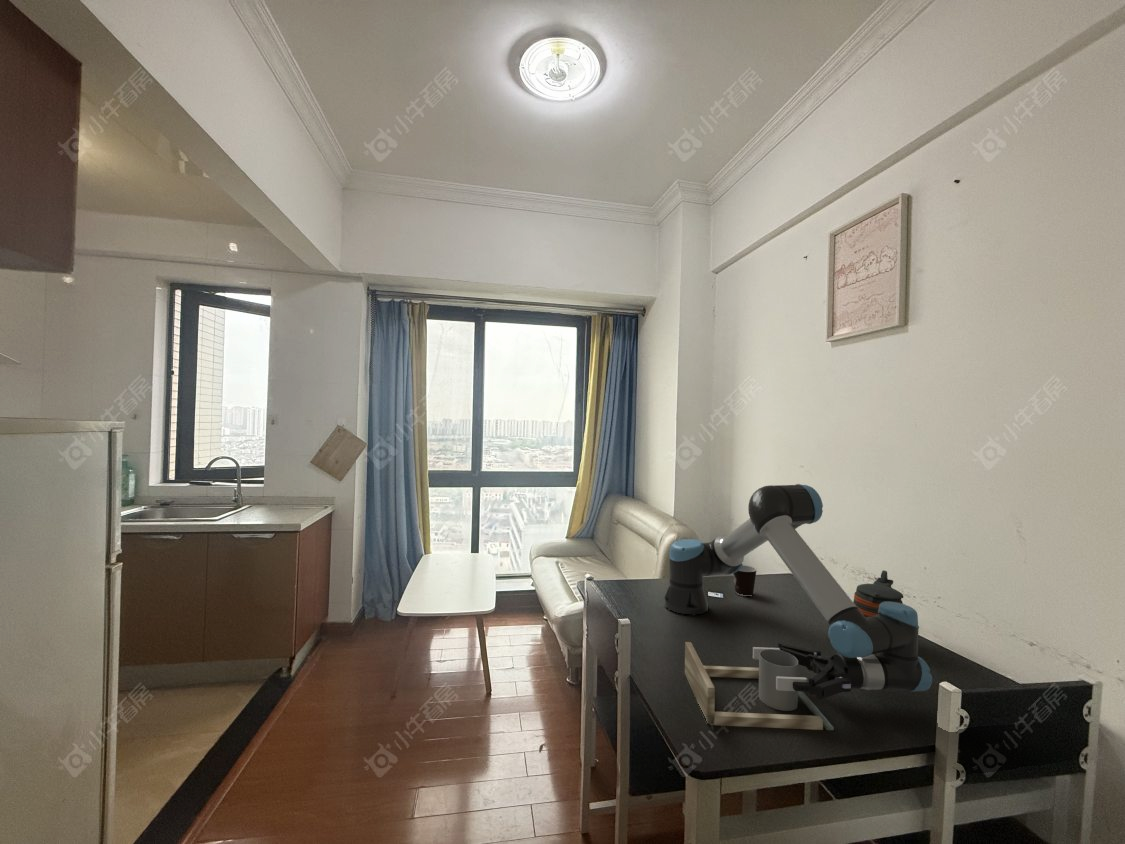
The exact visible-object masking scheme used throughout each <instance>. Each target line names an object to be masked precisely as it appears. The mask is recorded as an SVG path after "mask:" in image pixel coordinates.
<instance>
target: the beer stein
mask: <svg viewBox="0 0 1125 844" xmlns="http://www.w3.org/2000/svg"><path fill="white" fill-rule="evenodd" d="M888 578H889V577H888V571H887V570H882V571H881V573H880V577H877V579H876V580H875V581H874V582H873V583H861V584H858V585H857V586H856V589H855V592H854V593H853V600H852V601H853V603H854V604H855V605H856V606H857V608H858V609H859V610H860V611H861V612H862V614H863V615H864V616H865V617H869V616H874V615H878V610H879V605H880V604H881V603H882V602H897V603H901V604H904V603H903V600H902V599H904V594H903V593H902V592H900V591H899V590H897V589H895V588H893V587H892V585H893V584H894V580H893V579H888Z"/></svg>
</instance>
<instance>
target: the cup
mask: <svg viewBox="0 0 1125 844" xmlns="http://www.w3.org/2000/svg"><path fill="white" fill-rule="evenodd" d="M758 668H759V679H758V697H759V699H760V701H761V702H762V703H763V704H765V705H766V706H768V707H770V708H772V709H775V710H779V711H783V712H788V711H795V710H796V709H797V708H798V706H799V696H798V691H779V690H777V689H776V676H779V677H799V664H798V660H797V659H796V657H795V656H793V655H791V654H789V653H787V652H784V651H781V650H775V649H765V650H762V651H760V654H759V659H758Z"/></svg>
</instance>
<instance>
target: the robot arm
mask: <svg viewBox="0 0 1125 844" xmlns="http://www.w3.org/2000/svg"><path fill="white" fill-rule="evenodd" d="M823 507H824V505H823V500H822V498H821V496H820V494H819V492H817V490H816V489H815V488H814V487H812V486H810V485H807V484H800V483H796V484H787V485H786V484H784V485H783V484H782V485H775V484H773V485H771V484H770V485H764V486H762V487H759V488H758V489H756V490H755V491H754V492H753V493H752V494H751V496H750V498H749V501H748V508H747V509H748V516H749V518H748V519H747V520H746V521H745V522H743V523H742V524H740V525H739V526H738V527H737V528H735V529H733V530H732V531H731V532H730V533H729V534H720V535H718V536H717V537H716V538H714V539H713V540H712V541H710V542H709V541H708V542H703V541H701V540H699V539H695V538H690V539H689V538H684V539H683V538H682V539H678V540H676V541H673V542H672V543H671V545H670V547H669V555H668V557H669V573H668V575H669V578H668V579H669V581H668V583H669V584H668V586H667V590H666V592H665V595H664V599H663V605H665V606H666V607H667V608H668V609H670V610H672V611H674V612H673V613H675V612H677V613H676V614H678V613H682V614H681V615H683V614H701V613H704V612H706V611H707V612H708V610H709V609H708V599H707V597H706V596H707V595H706V594H705V591H704V582H703V581H704V578H705V577H713V576H722V575H723V576H724V575H726V576H727V575H732V574H733V573H735V572H737V571H739V570H740V568H741V567H742V565H744V564H743V562H744V558H745V556H747V555H748V554H749V553H751V552H752V551H754V550H756V549H758V547H760V546H762V545H763V544H765V543H766V542H769V544H770V545H771V546H772V548H773V550H775V552H776V553H777V554H778V556H779V558H780V559H781V560H782V562H783V563H784V564H785V566H786V567H787V568H788V570H789V571H790V573H791V574H792V576H793V577H794V578H795V579H796V580H797V582H798V584H799V585H800V586H801V587H802V589H803V591H804V592H805V593H806V594H807V596H808V597H809V599H810V600H811V601H812V602H813V604H814V605H815V607H816V608H817V609H818V611H819V612H820V613H821V615H822V616H823V618H824V619H825V620H826V622H827V623H828V625H829V628H828V634H827V636H828V638H829V640H830V645H831V647H832V648H833V649H834V650H835V651H836V652H834V653H833V654H832V656H831V657H830V658H827V657H824V656H822V651H820V650H815V649H807V648H802V647H800V646H799V647H798V646H793V645H789V644H784V643H781V642H780V643H779V642H778V643H777V647H761V646H759V647H758V646H757V647H756V646H752V659H753V660H759V654H760V651H762V650H765V649H775V650H781V651H784V652H787V653H789V654H791V655H793V656H795V657H796V659H797V660H798V666H802V667H805V668H806V669H807V670H809V671H811V672H813V673H815V674H816V675H814V676H813V677H808V678H807V677H805V676H804V677H803V676H802V677H801V676H800V677H799V676H798V677H779V676H776V689H777V690H779V691H802V692H804V693H806V692H808V693H809V694H811V695H815V698H816V699H817V700H823V699H825V698H828V697H832V696H834V695H838V694H840V693H843V692H844V693H849V692H850V693H851V691H852V690H860V689H862V690H867V691H871V690H877V691H879V690H880V691H899V692H900V691H901V692H907V693H911V692H924V691H928V690H929V689H930V688H931V686H932V683H933V675H932V674H931V672H930V671H931V669H930V667H929V665H928V664H927V661H925V660H924V658H922V657H920V656H919V655H918V654H919V629H920V627H919V619H918V612H917V611H916V610H915V608H913V607H912V606H909V605H907V604H905V603H903V604H901V603H897V602H882V603H881V604H880V605H879V610H878V615H874V616H869V617H865V616H864V615H863V614H862V612H861V611H860V610H859V609H858V608H857V606H856V605H855V604H854V603H853V601H854V600H852V599H851V597H850V596H849V595H848V594H847V593H846V592H845V590H844V589H843V588H842V586H841V585H840V584H839V583H838V581H837V580H836V579H835V578H834V576H833V575H832V574H831V572H830V571H829V570H828V569H827V567H826V566H825V565H824V564H823V563H822V561H821V560H820V558H818V556H817V555H816V554H815V552H814V551H813V550H812V549H811V547H810V546H809V545H808V543H807V542H806V541H805V540H804V538H803V537H802V536H801V535H800V533H798V531H797V530H796V529H797V528H799V527H801V526H803V525H806V524H807V525H811V524H814V523H817V522H818V521H820V519H821V517H823ZM665 606H664V607H665ZM666 607H665V608H666ZM667 608H666V609H667ZM668 609H667V610H668ZM670 610H669V611H670ZM672 611H671V612H672ZM707 612H706V613H707ZM704 614H705V613H704ZM701 615H702V614H701Z"/></svg>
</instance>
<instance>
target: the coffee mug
mask: <svg viewBox="0 0 1125 844" xmlns="http://www.w3.org/2000/svg"><path fill="white" fill-rule="evenodd" d="M732 574H733V583H734V591H736V592H737V593H739V594H743V595H753V596H754V590H755V583H756V578H757V577H756V575H757V569H756V568H755V567H753V566H751V565H744V564H743V565H742V567H741V568H740V570H739V571H737V572H735V573H732Z"/></svg>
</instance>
